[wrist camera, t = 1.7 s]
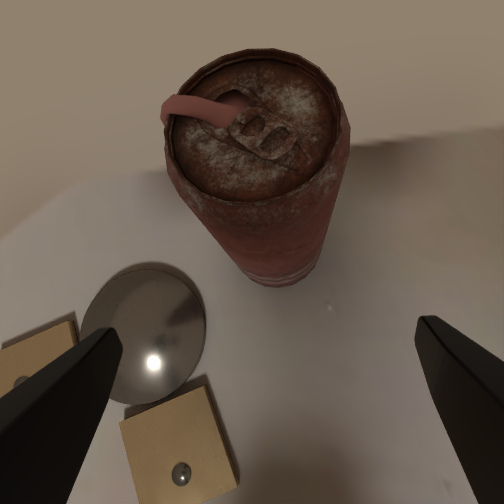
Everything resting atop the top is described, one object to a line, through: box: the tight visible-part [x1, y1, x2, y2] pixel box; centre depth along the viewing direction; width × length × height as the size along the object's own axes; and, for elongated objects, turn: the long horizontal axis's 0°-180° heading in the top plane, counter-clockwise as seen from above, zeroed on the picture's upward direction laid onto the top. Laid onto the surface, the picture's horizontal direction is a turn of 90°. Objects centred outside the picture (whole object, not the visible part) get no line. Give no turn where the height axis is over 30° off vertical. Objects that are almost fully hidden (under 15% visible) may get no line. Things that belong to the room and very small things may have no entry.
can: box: [160, 48, 350, 288], centre depth 16 cm, size 6×6×14 cm
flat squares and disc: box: [0, 270, 239, 504], centre depth 21 cm, size 15×15×1 cm
